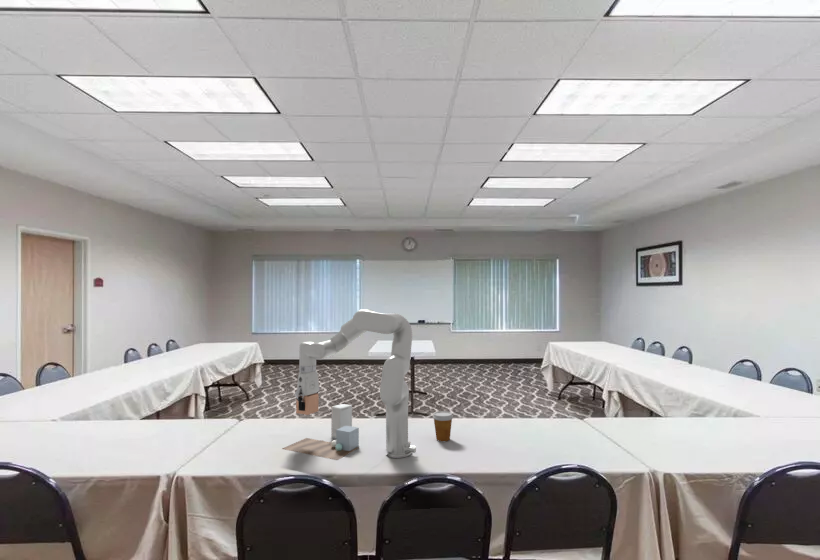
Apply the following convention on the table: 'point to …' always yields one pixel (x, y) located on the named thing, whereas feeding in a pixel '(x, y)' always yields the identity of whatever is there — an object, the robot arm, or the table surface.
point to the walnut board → (318, 449)
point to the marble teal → (338, 447)
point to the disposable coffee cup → (442, 425)
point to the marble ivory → (333, 443)
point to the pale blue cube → (348, 437)
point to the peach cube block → (309, 404)
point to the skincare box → (340, 417)
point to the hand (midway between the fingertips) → (307, 408)
